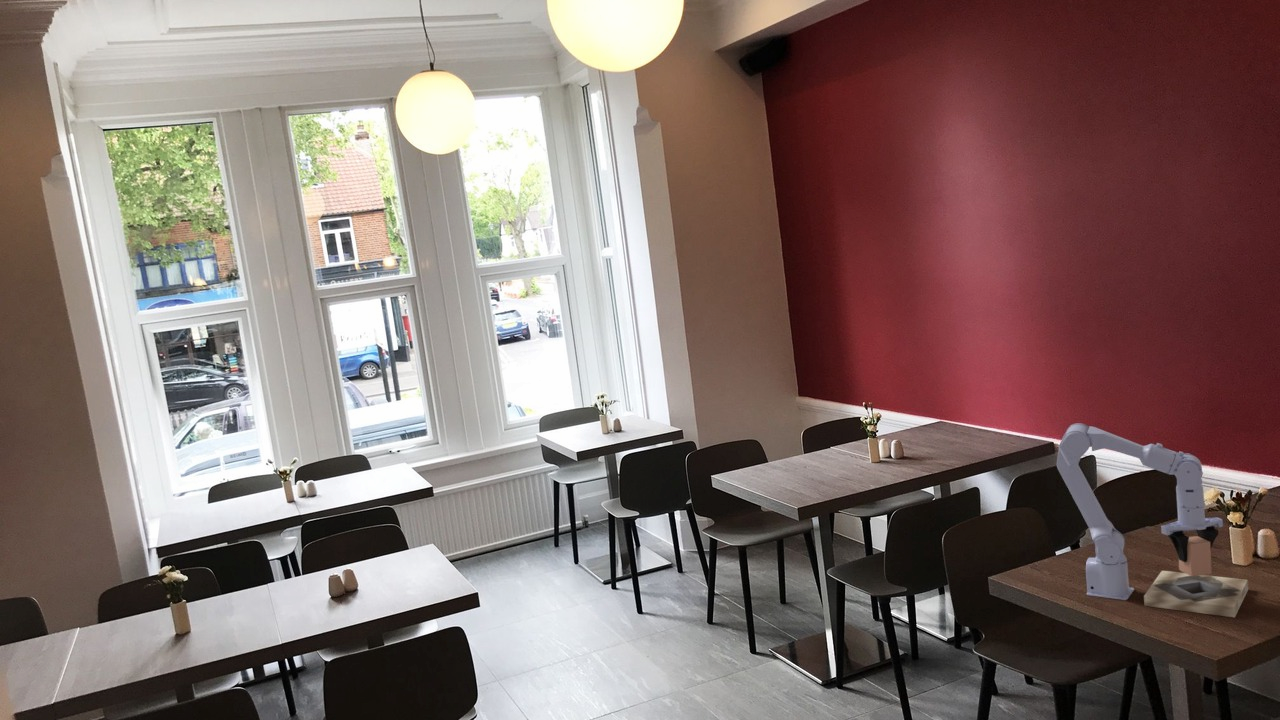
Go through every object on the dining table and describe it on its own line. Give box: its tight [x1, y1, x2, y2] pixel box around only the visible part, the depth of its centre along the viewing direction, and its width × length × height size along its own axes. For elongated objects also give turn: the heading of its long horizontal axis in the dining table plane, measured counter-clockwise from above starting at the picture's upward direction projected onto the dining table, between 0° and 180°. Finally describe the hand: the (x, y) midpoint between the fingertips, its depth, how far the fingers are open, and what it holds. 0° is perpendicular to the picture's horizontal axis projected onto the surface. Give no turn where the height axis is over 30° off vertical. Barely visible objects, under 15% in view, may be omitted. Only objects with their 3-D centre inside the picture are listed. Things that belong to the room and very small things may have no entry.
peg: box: [1178, 535, 1213, 576], centre depth 233 cm, size 5×5×8 cm
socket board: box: [1143, 570, 1249, 618], centre depth 234 cm, size 19×19×2 cm
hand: (1194, 558), depth 234 cm, fingers closed on peg, 5 cm apart
